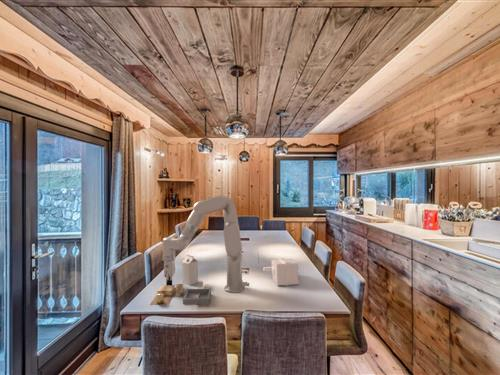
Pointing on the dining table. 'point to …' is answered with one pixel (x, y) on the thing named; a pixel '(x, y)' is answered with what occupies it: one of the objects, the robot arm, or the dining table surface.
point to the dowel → (179, 290)
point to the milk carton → (190, 270)
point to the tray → (203, 297)
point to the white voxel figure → (284, 271)
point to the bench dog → (160, 298)
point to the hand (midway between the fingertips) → (169, 286)
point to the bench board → (166, 299)
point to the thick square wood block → (167, 290)
